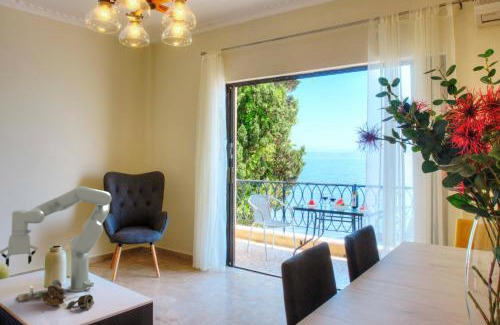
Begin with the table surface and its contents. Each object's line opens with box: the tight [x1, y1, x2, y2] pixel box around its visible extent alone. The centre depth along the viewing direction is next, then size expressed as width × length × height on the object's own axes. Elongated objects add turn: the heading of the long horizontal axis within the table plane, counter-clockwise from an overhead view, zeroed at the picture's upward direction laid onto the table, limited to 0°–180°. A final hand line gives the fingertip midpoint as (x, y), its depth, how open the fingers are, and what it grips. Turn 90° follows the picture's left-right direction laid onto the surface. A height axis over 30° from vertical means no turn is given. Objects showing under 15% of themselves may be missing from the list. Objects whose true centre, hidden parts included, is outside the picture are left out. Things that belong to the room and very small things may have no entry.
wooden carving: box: [41, 284, 67, 307], centre depth 186 cm, size 16×5×10 cm, turn 70°
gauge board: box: [17, 279, 62, 303], centre depth 199 cm, size 20×10×6 cm, turn 127°
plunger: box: [29, 285, 34, 297], centre depth 195 cm, size 1×8×4 cm, turn 37°
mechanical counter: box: [66, 293, 95, 311], centre depth 183 cm, size 7×13×10 cm
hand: (18, 264), depth 193 cm, fingers open, 9 cm apart
